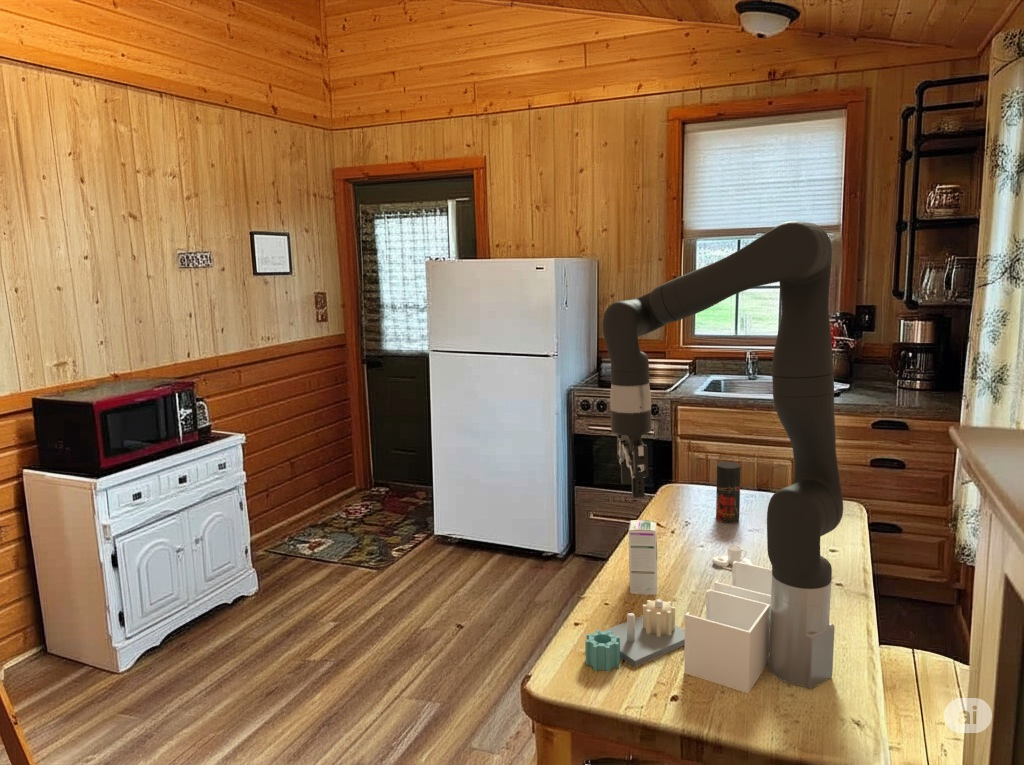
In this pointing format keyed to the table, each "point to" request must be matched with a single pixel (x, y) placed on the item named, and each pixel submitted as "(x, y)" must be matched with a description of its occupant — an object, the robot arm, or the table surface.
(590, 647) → the gear
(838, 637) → the table surface
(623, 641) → the board
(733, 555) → the teacup and saucer
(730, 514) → the deodorant
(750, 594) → the white folded wall panels
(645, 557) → the syrup box
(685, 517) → the table surface
